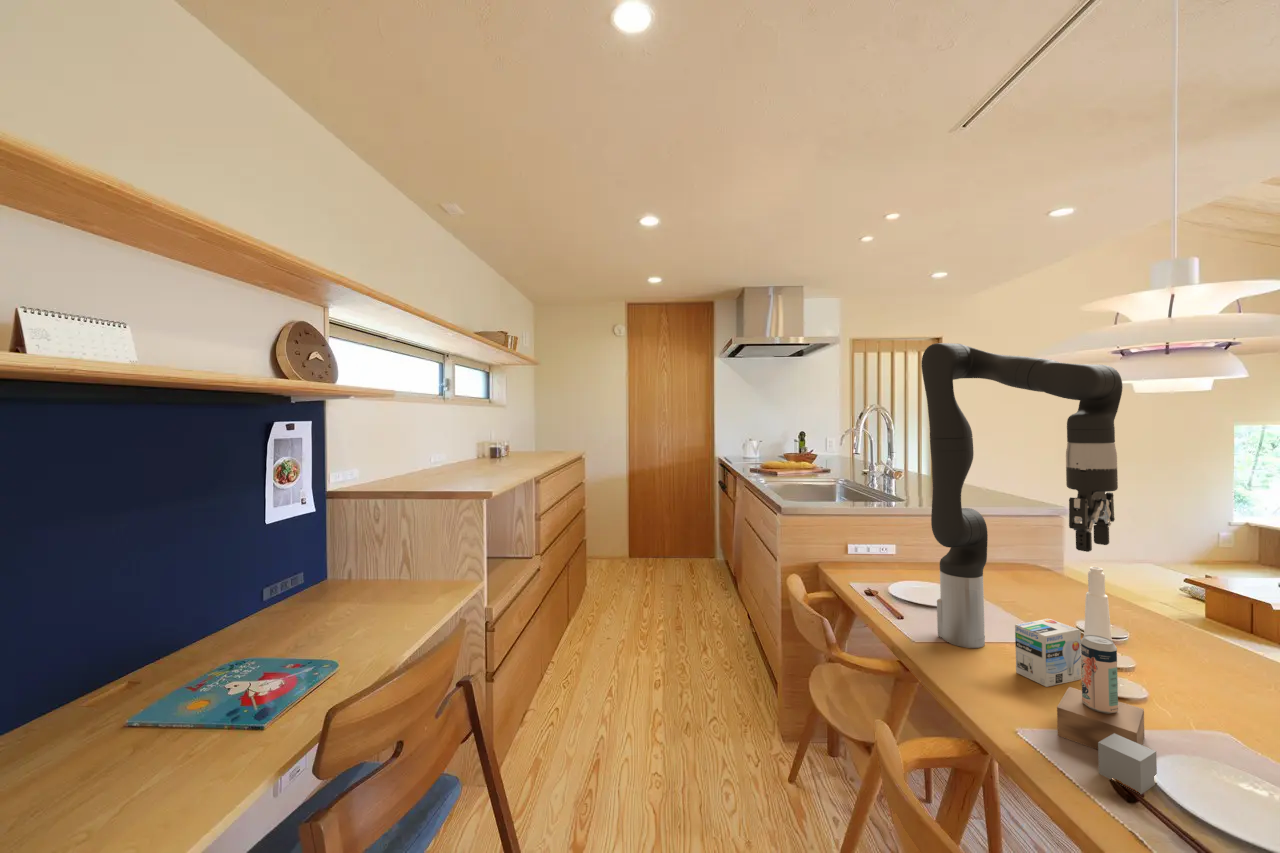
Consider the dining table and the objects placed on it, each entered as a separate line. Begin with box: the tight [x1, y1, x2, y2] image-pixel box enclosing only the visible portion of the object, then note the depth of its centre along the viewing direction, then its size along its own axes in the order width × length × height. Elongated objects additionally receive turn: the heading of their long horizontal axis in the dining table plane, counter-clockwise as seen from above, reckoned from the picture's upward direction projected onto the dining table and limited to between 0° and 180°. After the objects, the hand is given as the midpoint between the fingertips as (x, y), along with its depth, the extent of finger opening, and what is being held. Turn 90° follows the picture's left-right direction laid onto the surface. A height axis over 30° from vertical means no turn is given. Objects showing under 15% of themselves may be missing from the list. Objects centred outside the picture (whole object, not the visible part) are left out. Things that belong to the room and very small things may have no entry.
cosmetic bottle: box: [1083, 566, 1113, 641], centre depth 111 cm, size 6×6×22 cm
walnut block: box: [1056, 686, 1145, 751], centre depth 87 cm, size 10×10×5 cm
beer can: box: [1080, 634, 1119, 714], centre depth 87 cm, size 5×5×12 cm
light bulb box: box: [1014, 618, 1082, 688], centre depth 108 cm, size 11×7×11 cm, turn 106°
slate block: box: [1097, 733, 1158, 795], centre depth 77 cm, size 5×5×5 cm
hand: (1092, 547), depth 98 cm, fingers open, 8 cm apart
